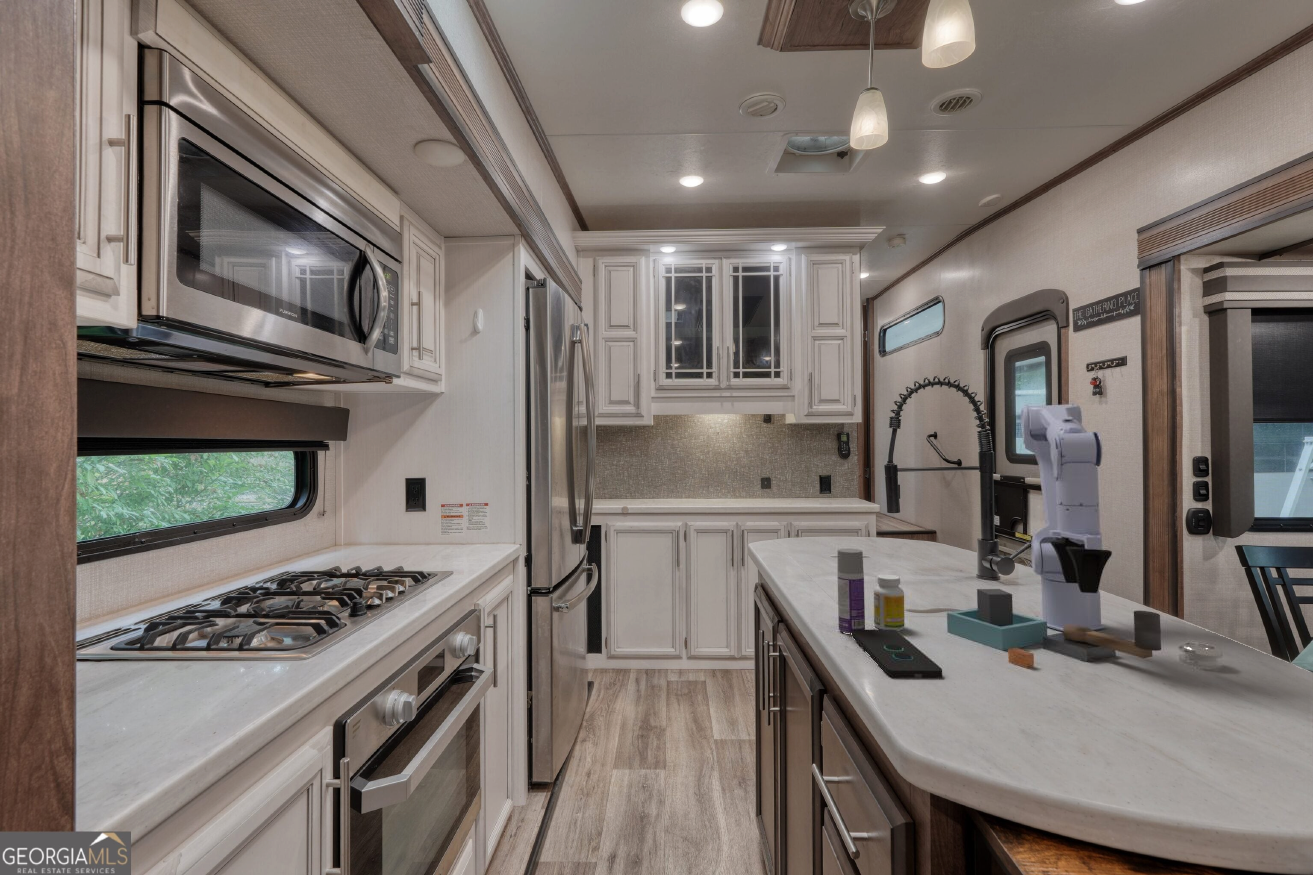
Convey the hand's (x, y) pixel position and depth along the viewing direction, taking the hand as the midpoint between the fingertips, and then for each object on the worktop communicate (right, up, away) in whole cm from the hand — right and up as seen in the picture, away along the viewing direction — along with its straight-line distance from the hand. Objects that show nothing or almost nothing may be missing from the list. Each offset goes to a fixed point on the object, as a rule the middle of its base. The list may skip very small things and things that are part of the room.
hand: (1080, 587), depth 96 cm
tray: (-9, -11, +8) cm, 16 cm away
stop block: (-10, -10, +8) cm, 16 cm away
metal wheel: (+14, -10, -7) cm, 18 cm away
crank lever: (+1, -8, -5) cm, 9 cm away
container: (-34, -12, +12) cm, 38 cm away
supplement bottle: (-26, -11, +14) cm, 32 cm away
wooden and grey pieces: (-6, -10, -3) cm, 12 cm away
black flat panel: (-31, -12, 0) cm, 33 cm away
